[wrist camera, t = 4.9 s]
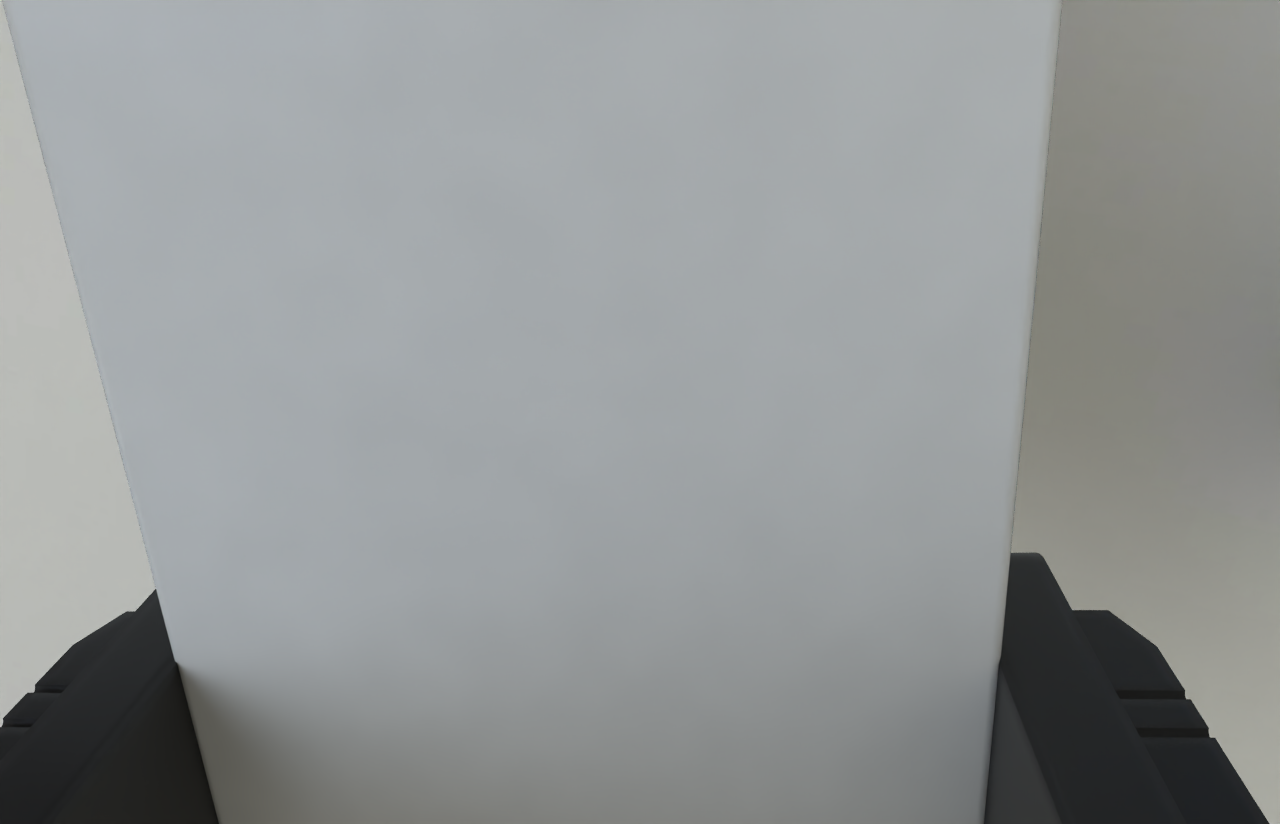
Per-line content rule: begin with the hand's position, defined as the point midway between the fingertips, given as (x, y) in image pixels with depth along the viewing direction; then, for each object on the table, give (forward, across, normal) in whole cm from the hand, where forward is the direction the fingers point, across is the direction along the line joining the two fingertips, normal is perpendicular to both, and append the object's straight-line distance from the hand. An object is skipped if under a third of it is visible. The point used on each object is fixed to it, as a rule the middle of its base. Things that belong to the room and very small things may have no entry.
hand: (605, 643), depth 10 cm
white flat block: (0, 0, 0) cm, 0 cm away
